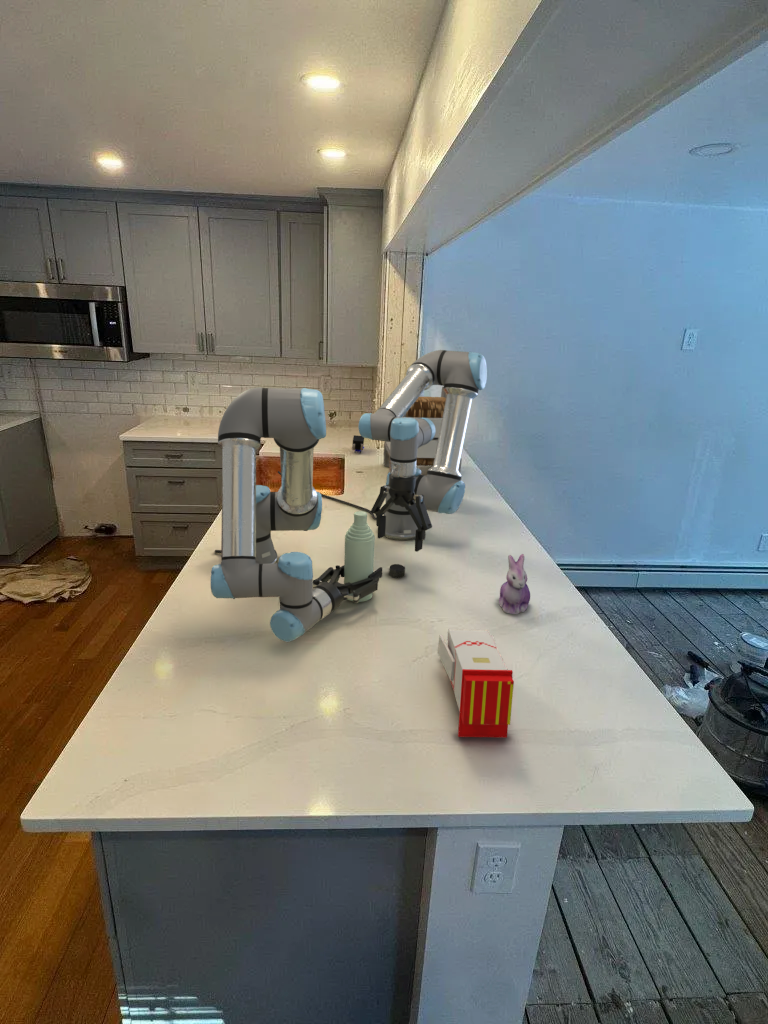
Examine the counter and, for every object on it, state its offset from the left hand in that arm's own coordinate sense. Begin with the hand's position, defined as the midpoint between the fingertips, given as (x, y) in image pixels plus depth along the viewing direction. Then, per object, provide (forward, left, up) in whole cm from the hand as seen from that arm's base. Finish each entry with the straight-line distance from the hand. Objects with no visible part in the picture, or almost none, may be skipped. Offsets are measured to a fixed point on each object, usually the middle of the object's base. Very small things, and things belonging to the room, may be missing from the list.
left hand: (367, 568), depth 158 cm
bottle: (0, -5, -6) cm, 8 cm away
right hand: (+3, +13, +4) cm, 14 cm away
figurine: (+39, +13, -6) cm, 41 cm away
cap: (+3, +12, -4) cm, 13 cm away
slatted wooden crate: (-39, +117, -6) cm, 124 cm away
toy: (+42, -28, -6) cm, 51 cm away
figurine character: (-86, +136, -6) cm, 161 cm away
